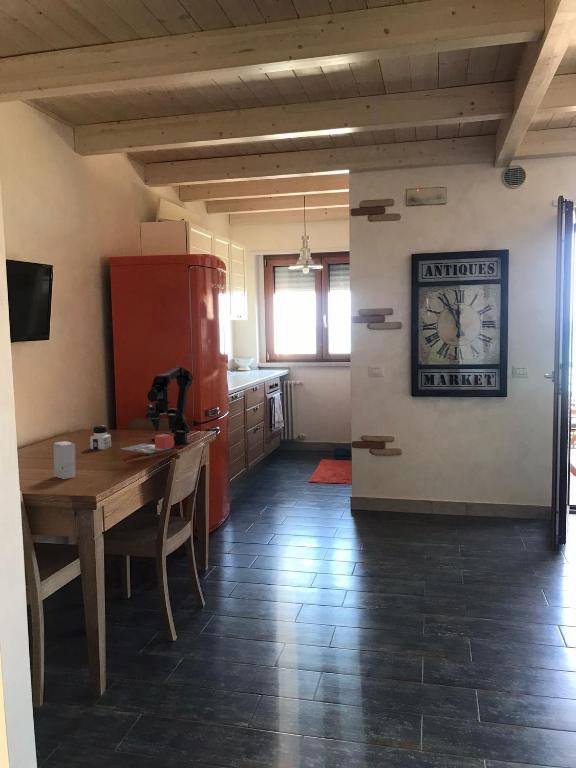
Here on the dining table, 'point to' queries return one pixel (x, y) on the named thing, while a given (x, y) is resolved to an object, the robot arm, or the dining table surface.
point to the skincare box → (64, 460)
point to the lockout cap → (164, 441)
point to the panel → (147, 449)
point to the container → (100, 438)
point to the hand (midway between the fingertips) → (163, 429)
